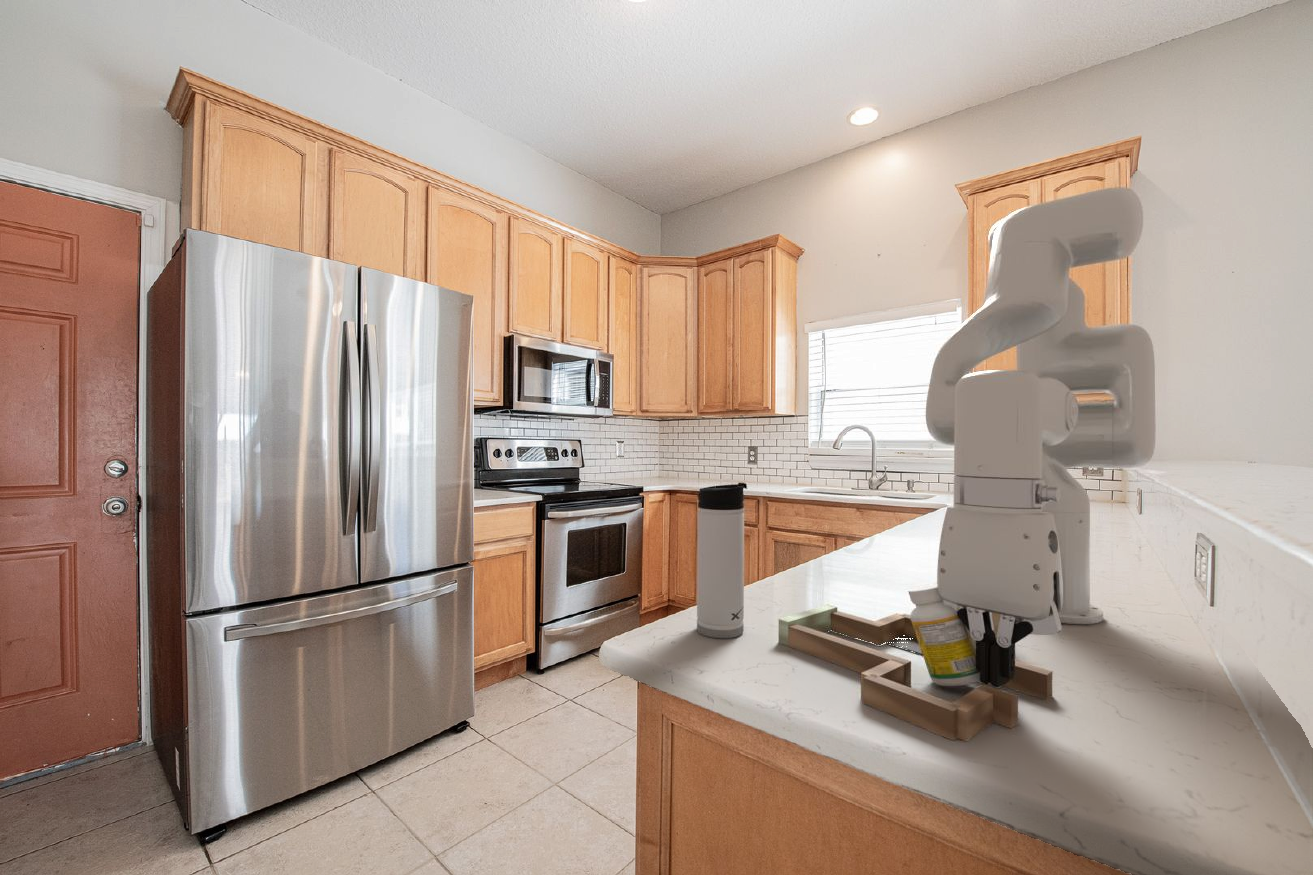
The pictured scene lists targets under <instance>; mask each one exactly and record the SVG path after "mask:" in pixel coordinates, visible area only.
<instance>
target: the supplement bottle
mask: <svg viewBox="0 0 1313 875" xmlns="http://www.w3.org/2000/svg"><path fill="white" fill-rule="evenodd" d="M908 595H909V598H910V602H912V604H914V605H915V608H913V610H911V612H910V614H909V615H910V618H911V621H912V624H913V628H914V631H915V634H916V636H917V639H918V642H919V645H920V648H921V651H922V654H923V655H922V657H923V660H924V663H925V666H926V669H927V671H928V675H929V677H930V679H931V681H932V682H933V683H934V684H935V685H938V686H941V687H958V686H966V685H970V684H971V685H972V684H974V683H977V682H980V670H977V669H976V644H975V641H974V639H973V638H972V637H971V634H970V631H969V629H968V628H967V627H966V626H965V625H964V623H963V622H962V621H961V620H960V619H959V617H958V615H957V612H956V611H955V610H954V609H953V608H952V607H950V606H947V605H944V602H943V600H944V599H943V598H942V597H941V596H940V595H939V593H938V589H937V582H935V583H930V584H929V583H928V584H925V585H920V586H916V587H912V588H910V589H908Z"/></svg>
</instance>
